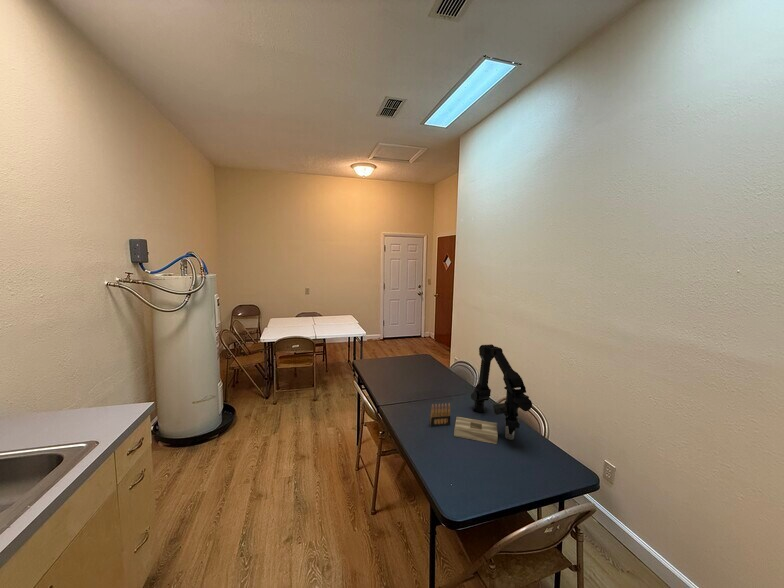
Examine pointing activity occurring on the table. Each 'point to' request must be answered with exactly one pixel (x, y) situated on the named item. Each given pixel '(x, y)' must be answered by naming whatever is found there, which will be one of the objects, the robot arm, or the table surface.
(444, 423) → the ammunition clip
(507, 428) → the metal peg
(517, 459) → the table surface
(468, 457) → the table surface
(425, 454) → the table surface
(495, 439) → the hole block
